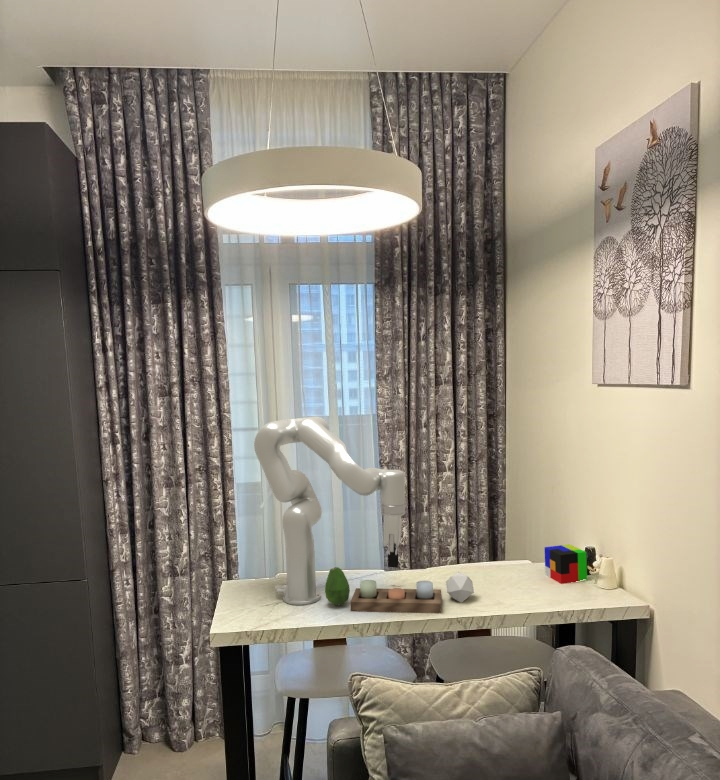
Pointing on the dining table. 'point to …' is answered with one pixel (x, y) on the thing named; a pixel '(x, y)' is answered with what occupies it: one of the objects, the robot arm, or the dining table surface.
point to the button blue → (424, 589)
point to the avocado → (337, 587)
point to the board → (396, 602)
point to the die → (459, 586)
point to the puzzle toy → (565, 563)
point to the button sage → (368, 589)
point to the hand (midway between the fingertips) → (393, 566)
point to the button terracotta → (396, 593)
